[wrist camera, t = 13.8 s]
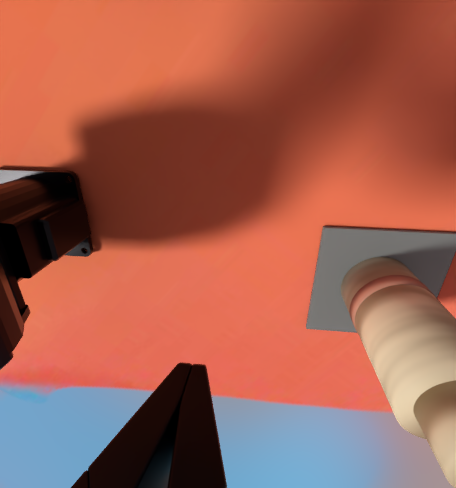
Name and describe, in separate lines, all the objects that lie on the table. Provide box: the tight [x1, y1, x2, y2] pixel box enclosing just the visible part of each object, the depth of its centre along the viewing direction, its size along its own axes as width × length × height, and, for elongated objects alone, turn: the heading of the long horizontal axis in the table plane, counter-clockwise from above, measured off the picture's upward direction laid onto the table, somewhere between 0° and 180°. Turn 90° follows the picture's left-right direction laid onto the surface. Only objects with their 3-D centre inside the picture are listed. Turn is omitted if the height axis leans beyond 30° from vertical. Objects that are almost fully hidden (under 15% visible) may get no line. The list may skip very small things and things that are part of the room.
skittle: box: [341, 257, 456, 488], centre depth 16 cm, size 5×5×12 cm
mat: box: [306, 226, 456, 333], centre depth 21 cm, size 9×9×1 cm
